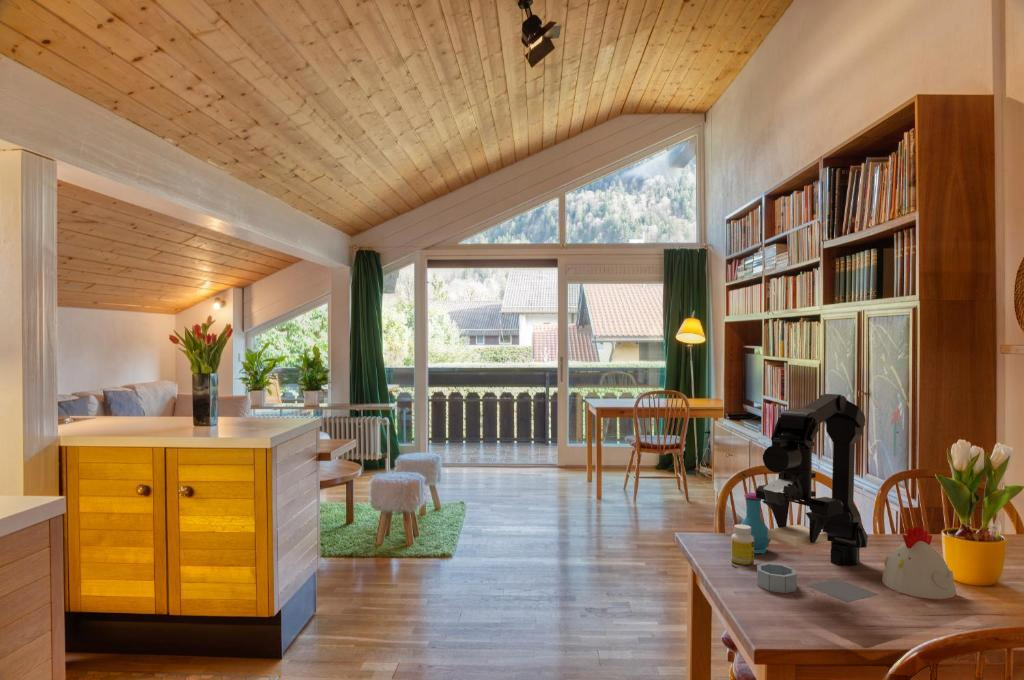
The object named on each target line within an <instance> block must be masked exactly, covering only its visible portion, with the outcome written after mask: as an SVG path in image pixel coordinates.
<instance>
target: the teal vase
mask: <svg viewBox="0 0 1024 680" xmlns="http://www.w3.org/2000/svg"><path fill="white" fill-rule="evenodd" d="M744 497H745V502H746V505H745V506H746V510H745V511H746V512H745V513H746V516H745V517H744V519H743V520H742V521H741V523H740V524H742V525H748V526H750V527H751V534H750V535H751V536H753V538H754V553H762V554H765V553H764V552H766V551H767V548H768V547H769V544H770V542H771V539H768V529H769V528H768V526H767V525H766V524H765V522H764V520H763V519H762V518H761V502H762V499H759V498H756V492H747V493H745V494H744ZM766 553H767V552H766Z"/></svg>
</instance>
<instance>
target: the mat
mask: <svg viewBox="0 0 1024 680" xmlns="http://www.w3.org/2000/svg"><path fill="white" fill-rule="evenodd" d="M806 587H809V588H811V589H813V590H816V591H819V592H821V593H823V594H826V595H828V596H831V597H833V598H836V599H838V600H840V601H843V602H845V603H850V602H853V601H857V600H861V599H865V598H870V597H874V596H879V593H876V592H874V591H871V590H868V589H865V588H863V587H860V586H858V585H856V584H852V583H850V582H848V581H845V580H842V579H839V578H834V579H829V580H826V581H822V582H821V581H820V582H817V583H812V584H808V585H806Z"/></svg>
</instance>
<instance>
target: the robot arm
mask: <svg viewBox="0 0 1024 680" xmlns="http://www.w3.org/2000/svg"><path fill="white" fill-rule="evenodd" d="M823 422H824V424H825V428H826V433H827V435H828V436H829V438H830V440H831V441H832V442H833V443H832V444H833V445H832V446H833V447H832V450H833V451H832V477H831V480H832V481H831V497H829V496H823V497H816V496H817V495H816V493H817V492H816V491H815V490H814V491H813V490H812V488H813V487H812V486H813V484H812V483H813V482H812V479H816V476H817V475H816V474H817V473H816V472H813V471H812V469H813V466H812V465H813V460H812V458H813V450H812V449H813V448H812V447H815V442H814V439H815V437H816V435H817V434H818V432H819V431H820V429H819V428H820V427H819V426H820V424H821V423H823ZM865 425H866V417H865V414H864V413H863V411H862V409H861V408H860V407H859V406H858V405H856V404H855V403H854V402H851V401H849V400H847V397H846V396H844V395H842V394H838V393H836V394H835V393H824V394H821V395H819V398H817V399H815V400H814V401H812V402H810V403H809V404H807V405H805V406H804V407H801V408H789V409H785V410H783V411H782V412H781V413H780V415H779V416H778V418H777V421H776V424H775V427H774V430H773V433H772V435H771V438H770V440H771V445H770V446H768V447H767V448H766V449H765V450H764V452H763V454H762V461H763V464H764V466H765V468H766V469H768V470H769V471H770V472H772V473H776V474H777V473H778V478H777V479H776V480H773V481H772V482H770V483H769V484H762V485H758V486H757V488H756V490H755V493H756V498H759V499H761V501H762V502H763V503H762V504H765V505H766V506H768V507H769V508H770V510H771V513H772V514H773V516H774V519H775V522H776V525H777V528H779V527H785V526H788V525H787V524H788V519H789V518H788V516H789V509H790V503H795V504H799V505H802V506H807V507H808V508H809V510H810V511H809V512H807V511H806V512H805V515H806V517H807V518H808V519H809V526H808V527H809V536H810V543H815V542H816V540H817V538H818V536H819V534H820V532H821V531H823V532H826V533H827V542H830V564H833V565H836V566H847V567H848V566H850V567H853V566H854V567H855V566H859V563H860V549H861V548H864V549H865V548H867V545H868V542H869V540H868V537H869V536H868V534H867V532H866V530H865V528H864V526H863V524H862V521H861V520H862V519H861V518H862V517H861V514H860V511H859V510H858V508H857V506H856V505H855V504H854V490H855V487H854V486H855V457H856V455H855V454H856V452H855V451H856V450H855V449H856V448H855V447H856V443H857V442H858V441H859V440H860V438H861V436H863V434H864V433H863V432H864V431H863V430H864V427H865Z"/></svg>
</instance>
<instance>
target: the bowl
mask: <svg viewBox="0 0 1024 680" xmlns="http://www.w3.org/2000/svg"><path fill="white" fill-rule="evenodd" d="M756 583H757V587H758V588H762V589H764V590H766V591H769V592H773V593H775V592H776V593H782V594H787V593H793V592H796V591H797V571H796V569H795V568H793V567H790V566H788V565H786V564H780V563H774V562H773V563H771V562H766V563H760V564H757V565H756Z"/></svg>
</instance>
